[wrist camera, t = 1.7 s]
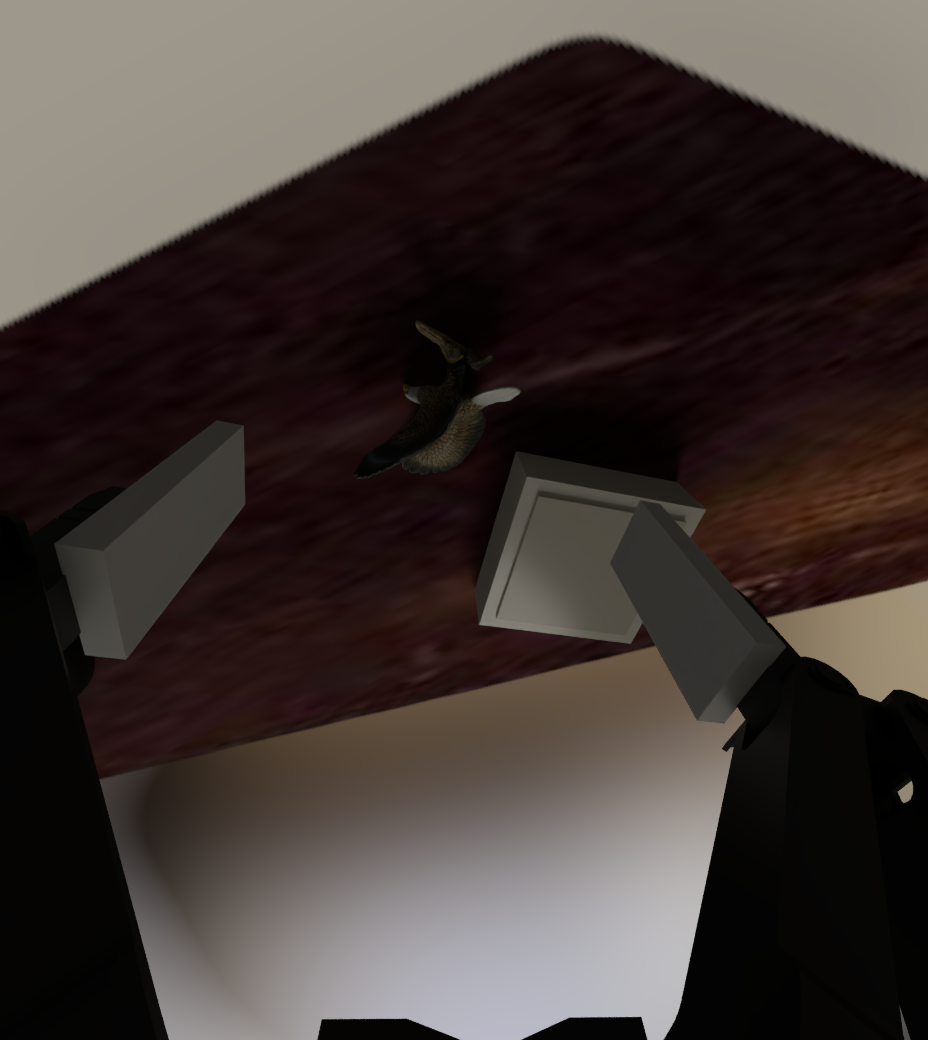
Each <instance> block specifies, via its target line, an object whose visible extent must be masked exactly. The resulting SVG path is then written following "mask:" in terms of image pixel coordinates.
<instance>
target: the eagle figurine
mask: <svg viewBox="0 0 928 1040" xmlns="http://www.w3.org/2000/svg"><path fill="white" fill-rule="evenodd" d="M415 324H416V327H417V329H418V330H419V331H420V333H422V334H423V335H424V336H426V337H427V338H429V339H430V340H431V341H432V342H435V343H437V344H438V345H439V346H440V348H441V350H442V353H443V354H444V356H445V358H446V359H447V362H446V367H445V368H446V372H447V376H446V378H445V381H444V383H443V384H442V385H441V386H437V385H426V386H420V387H411V386H408V385H407V384H406V383H404V385H403V389H404V391H405V396H406V397H407V398H408V399H410V400H411V401H413V402H416V403H419V404H420V409H419V411H418V412H417V414H416V416H415V417H414V418H413V420H412V421H411V422H410V423H409V424H408V425H406V426H405V427H403V428H402V429H400V430H399V431H397V432H396V433H394V434H393V435H392V436H391V437H390V439H389V440H388V441H387V442H385V443H384V444H382V445H379V446H378V447H376V448H375V449H373V450H372V451H371V452H369V453H368V454H367V455H366V456H365V457H364V458H363V459H362V463H361V464H360V465H359V466H358V467H357V470H356V471H355V472H354V476H357V479H360V478H361V479H364V478H365V477H366V478H369V477H371V476H373V475H377V474H378V473H380V472H383V471H385V470H386V469H390V468H392V467H394V466H395V465H398V464H400V463H402V467H403V469H409V471H410V472H411V473H416V472H420V473H421V474H427V473H429V472H430V471H433V472H434V473H437V472H439V471H446V470H450V469H451V468H452V467H456V466H457V465H458V464H459V463H462V462H463V460H464V459H465V458H466V457H467V455H469V453H470V451H471V450H472V449H473V447H474V446H475V445H476V442H477V441H478V440H479V439H480V437H481V436H482V434H483V431H484V429H485V424H486V417H485V416H483V413H482V412H481V409H483V408H484V407H485V406H487V405H490V404H493V403H495V402H505V401H509V400H511V399H513V398H514V397H515V396H517V395H519V394H520V389H518V388H517V387H515V386H506V387H496V388H492V389H489V390H486V391H483V392H479V393H474V392H470V389H471V387H470V385H469V375H470V371H469V365H470V366H471V367H472V368H473V369H475V370H479V369H480V368H481V367H482V366H484V365H485V364H487V363H489V362H490V361H491V360H492V359H493V356H492V354H485V355H481V354H479V353H474V352H473V350H472V349H471V348H467V349H466V348H465V347H464V346H462V345H460V344H459V343H457V342H455V341H454V340H453V339H451V338H450V337H448V336H447V335H445V334H443V333H441V332H440V331H438V330H436V329H434V328H432V327H430V326H429V325H427V324H426V323H423V322H421V321H419V320H417V321H415ZM468 364H469V365H468Z"/></svg>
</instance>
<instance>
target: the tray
mask: <svg viewBox="0 0 928 1040" xmlns="http://www.w3.org/2000/svg"><path fill="white" fill-rule="evenodd" d="M640 500H642V501H648V502H653V503H658V504H661V505H662V507H663V508H664V509H665V510H666V511H667V512H668V513H669V514H670V516H671V517H672V518H673V519H674V520H675V521H676V522H677V524H678V525H679V526H680V527H681V528H682V529H683V530H684V531H685V533H686V534H687V535H688V536H689V537H691V535H692V534H693V532H694V530H695V528H696V527H697V525H698V523H699V521H700V519H701V518H702V516H703V514H704V512H705V511H706V509H705V508H704V507H703V506H702V505H701V504H700V503H698V502H697V501H696V500H695V499H694V498H693V497H692V496H691V495H690V494H689V493H688V492H687V491H686V490H685V489H684V488H682V487H681V486H680V485H679V484H678V483H677V482H673V481H668V480H663V479H658V478H653V477H647V476H642V475H637V474H632V473H627V472H621V471H616V470H611V469H606V468H601V467H596V466H590V465H585V464H580V463H575V462H570V461H565V460H559V459H554V458H549V457H544V456H539V455H533V454H528V453H523V452H518V451H516V454H515V457H514V460H513V464H512V467H511V470H510V474H509V477H508V480H507V484H506V487H505V490H504V494H503V497H502V500H501V504H500V507H499V510H498V514H497V517H496V520H495V524H494V527H493V530H492V534H491V537H490V540H489V544H488V547H487V550H486V554H485V557H484V560H483V564H482V567H481V570H480V574H479V577H478V580H477V584H476V587H475V595H476V603H477V611H478V619H479V625H487V626H495V627H502V628H510V629H518V630H526V631H534V632H542V633H550V634H558V635H566V636H574V637H582V638H590V639H598V640H606V641H614V642H622V643H630V644H631V642H632V640H633V639H634V637H635V635H636V633H637V631H638V630H639V628H640V626H641V624H642V623H643V622H642V620H641V618H640V617H639V615H638V613H637V611H636V609H635V608H634V606H633V604H632V602H631V600H630V599H629V597H628V595H627V593H626V591H625V589H624V588H623V586H622V584H621V582H620V580H619V579H618V577H617V575H616V573H615V571H614V570H613V568H612V566H611V564H610V562H611V560H612V558H613V556H614V554H615V552H616V550H617V547H618V545H619V543H620V541H621V539H622V537H623V535H624V533H625V531H626V529H627V526H628V524H629V522H630V520H631V518H632V516H633V514H634V512H635V510H636V508H637V505H638V503H639V501H640Z"/></svg>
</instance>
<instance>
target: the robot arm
mask: <svg viewBox="0 0 928 1040" xmlns="http://www.w3.org/2000/svg"><path fill="white" fill-rule="evenodd" d="M244 505H245V474H244V428H243V426H242V425H237V424H232V423H226V422H221V421H216V422H214V423H213V424H212V425H210V426H209V427H208V428H206V429H205V430H204V431H202V432H201V433H200V434H198V435H197V436H196V437H194V438H193V439H192V440H191V441H189V442H188V443H187V444H185V445H184V446H183V447H181V448H180V449H179V450H177V451H176V452H175V453H173V454H172V455H171V456H169V457H168V458H167V459H165V460H164V461H163V462H162V463H160V464H159V465H158V466H156V467H155V468H154V469H152V470H151V471H150V472H148V473H147V474H146V475H144V476H143V477H142V478H140V479H139V480H138V481H137V482H135V483H134V484H133V485H131V486H130V487H129V488H127V489H126V488H120V487H114V486H113V487H110V488H107V489H105V490H102V491H99V492H96V493H93V494H91V495H89V496H87V497H86V498H84V499H83V500H81V501H80V502H79V503H77V504H76V505H74V506H73V509H68V510H67V511H66V512H64V513H63V514H61V515H60V516H59V519H54V520H53V521H51V522H50V523H48V524H47V525H45V526H44V527H43V528H41V529H40V530H38V531H37V532H35V533H34V534H32V535H31V536H30V537H29V533H28V530H27V527H26V524H25V522H24V520H23V519H22V518H21V517H20V516H19V515H16V514H13V513H10V512H7V511H0V1040H169V1038H168V1035H167V1032H166V1028H165V1025H164V1021H163V1017H162V1014H161V1010H160V1007H159V1003H158V999H157V996H156V992H155V988H154V984H153V980H152V976H151V973H150V969H149V965H148V962H147V958H146V954H145V950H144V946H143V943H142V939H141V935H140V931H139V928H138V924H137V920H136V916H135V912H134V909H133V905H132V901H131V898H130V894H129V890H128V886H127V882H126V879H125V875H124V871H123V867H122V864H121V860H120V856H119V852H118V848H117V845H116V841H115V837H114V834H113V830H112V826H111V822H110V818H109V814H108V811H107V807H106V803H105V799H104V796H103V792H102V788H101V784H100V781H99V777H98V773H97V769H96V765H95V762H94V758H93V754H92V750H91V747H90V743H89V739H88V735H87V732H86V728H85V724H84V720H83V716H82V713H81V709H80V705H79V701H78V696H79V695H80V694H81V693H82V691H83V690H84V689H85V688H86V686H87V685H88V684H89V682H90V681H91V678H92V676H93V672H94V658H93V656H98V657H107V658H117V659H127V658H128V656H129V655H130V654H131V653H132V651H133V650H134V649H135V647H136V646H137V645H138V643H139V642H140V641H141V639H142V638H143V637H144V636H145V634H146V633H147V632H148V630H149V629H150V628H151V626H152V625H153V624H154V623H155V621H156V620H157V619H158V617H159V616H160V615H161V613H162V612H163V611H164V609H165V608H166V607H167V606H168V604H169V603H170V602H171V600H172V599H173V598H174V596H175V595H176V594H177V593H178V591H179V590H180V589H181V587H182V586H183V585H184V583H185V582H186V581H187V579H188V578H189V577H190V576H191V574H192V573H193V572H194V570H195V569H196V568H197V566H198V565H199V564H200V562H201V561H202V560H203V559H204V557H205V556H206V555H207V553H208V552H209V551H210V549H211V548H212V547H213V546H214V544H215V543H216V542H217V540H218V539H219V538H220V536H221V535H222V534H223V532H224V531H225V530H226V529H227V527H228V526H229V525H230V523H231V522H232V521H233V519H234V518H235V517H236V516H237V514H238V513H239V512H240V510H241V509H242V508H243V506H244ZM610 564H611V566H612V568H613V570H614V571H615V573H616V575H617V577H618V579H619V580H620V582H621V584H622V586H623V588H624V589H625V591H626V593H627V595H628V597H629V599H630V600H631V602H632V604H633V606H634V608H635V609H636V611H637V613H638V615H639V617H640V618H641V620H642V622H643V624H644V626H645V627H646V629H647V631H648V633H649V635H650V636H651V638H652V640H653V642H654V644H655V645H656V647H657V649H658V651H659V653H660V654H661V656H662V658H663V660H664V662H665V663H666V665H667V667H668V669H669V671H670V672H671V674H672V676H673V678H674V680H675V682H676V683H677V685H678V687H679V689H680V690H681V692H682V694H683V696H684V698H685V700H686V701H687V703H688V705H689V707H690V709H691V710H692V712H693V714H694V716H695V718H696V719H697V720H698V721H707V722H717V723H724V722H725V721H726V720H727V719H728V718H729V717H730V715H731V714H732V713H733V712H734V710H735V709H736V708H737V707H738V708H739V710H740V712H741V713H742V715H743V716H744V718H745V719H746V720H745V721H744V722H743V724H742V725H741V726H740V727H739V728H738V729H737V731H736V732H735V733H734V734H733V735H732V737H731V738H730V739H729V740H728V741H727V742H726V744H725V745H724V746H723V748H722V749H723V750H725V751H726V752H727V751H728V749H729V748H730V747H734V749H733V754H732V759H731V764H730V769H729V774H728V779H727V783H726V788H725V793H724V798H723V802H722V807H721V812H720V817H719V822H718V827H717V831H716V837H715V841H714V846H713V851H712V856H711V861H710V865H709V871H708V875H707V880H706V885H705V890H704V894H703V899H702V904H701V909H700V914H699V918H698V923H697V928H696V933H695V938H694V943H693V948H692V952H691V957H690V962H689V967H688V972H687V976H686V981H685V987H684V991H683V996H682V1001H681V1004H680V1008H679V1012H678V1014H677V1016H676V1019H675V1021H674V1023H673V1025H672V1027H671V1028H670V1030H669V1032H668V1033H667V1035H666V1037H665V1039H664V1040H904V1036H903V1030H902V1022H901V1015H900V1008H901V1011H902V1014H903V1017H904V1021H905V1023H906V1027H907V1029H908V1033H909V1036H910V1039H911V1040H928V700H927V699H925V698H921V697H919V696H917V695H915V694H913V693H910V692H907V691H903V690H893V691H892V692H891V693H890V694H889V695H888V696H887V697H886V698H885V699H884V700H883V701H882V702H878V701H875V700H873V699H870V698H867V697H865V696H862V695H859V693H858V691H857V689H856V688H855V687H854V685H853V684H852V683H851V682H850V681H849V680H848V679H847V678H846V677H844V676H843V675H842V674H841V673H840V672H839V671H837V670H835V669H834V668H832V667H831V666H829V665H827V664H825V663H823V662H821V661H819V660H816V659H814V658H809V657H800V656H799V655H798V654H797V653H796V651H795V650H794V649H793V648H792V647H791V646H790V645H789V644H788V642H787V641H786V640H785V639H784V638H783V637H782V636H781V635H780V633H779V632H778V631H777V630H776V629H775V628H774V627H773V626H772V625H771V624H770V623H768V622H767V621H768V620H767V619H766V618H765V617H764V616H763V614H762V613H761V612H758V609H757V608H756V607H755V606H754V604H753V603H752V602H751V601H750V600H749V599H748V598H747V597H746V596H745V595H744V594H742V593H741V592H740V591H738V590H737V589H736V588H734V587H733V586H732V585H731V583H730V582H729V581H728V580H727V579H726V578H725V577H724V576H723V574H722V573H721V572H720V571H719V570H718V569H717V568H716V567H715V565H714V564H713V563H712V562H711V561H710V560H709V559H708V557H707V556H706V555H705V554H704V553H703V552H702V551H701V550H700V548H699V547H698V546H697V545H696V544H695V543H694V542H693V541H692V539H691V538H690V537H689V536H688V535H687V534H686V533H685V531H684V530H683V529H682V528H681V527H680V526H679V525H678V524H677V522H676V521H675V520H674V519H673V518H672V517H671V516H670V514H669V513H668V512H667V511H666V510H665V509H664V508H663V507H662V505H661V504H658V503H653V502H648V501H642V500H640V501H639V503H638V505H637V508H636V510H635V512H634V514H633V516H632V518H631V520H630V522H629V524H628V526H627V529H626V531H625V533H624V535H623V537H622V539H621V541H620V543H619V545H618V547H617V550H616V552H615V554H614V556H613V558H612V560H611V562H610ZM910 781H912V783H913V795H912V797H911V800H909V801H908V802H906V803H903V802H902V801H901V799H900V797H899V794H898V791H899V790H900V789H902V788H903V787H904V786H905V785H907V784H908V783H909V782H910ZM899 1005H900V1006H899ZM318 1040H459V1039H457V1038H454V1037H452V1036H449V1035H447V1034H444V1033H442V1032H439V1031H437V1030H434V1029H432V1028H429V1027H426V1026H424V1025H421V1024H419V1023H416V1022H413V1021H411V1020H409V1019H322V1021H321V1026H320V1030H319V1035H318ZM522 1040H647V1037H646V1033H645V1029H644V1025H643V1022H642V1018H641V1017H590V1018H589V1017H588V1018H586V1017H585V1018H568V1019H566V1020H563V1021H561V1022H559V1023H557V1024H555V1025H552V1026H550V1027H548V1028H546V1029H544V1030H541V1031H539V1032H537V1033H535V1034H533V1035H531V1036H529V1037H526V1038H524V1039H522Z"/></svg>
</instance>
